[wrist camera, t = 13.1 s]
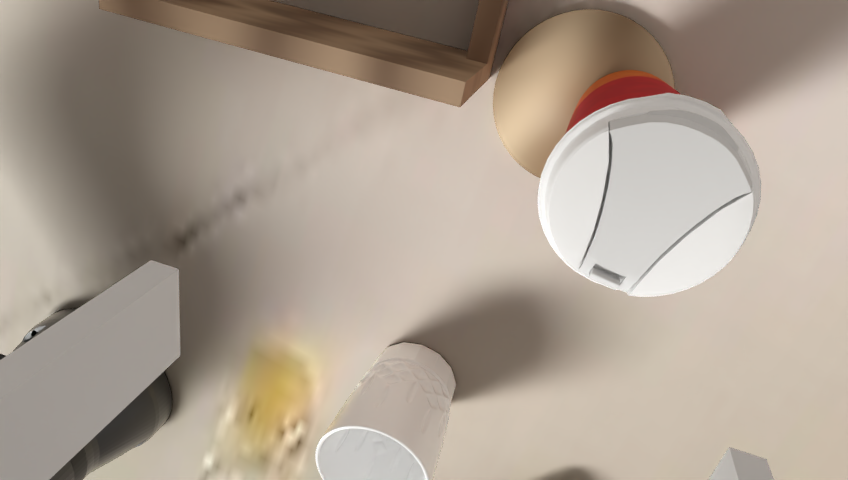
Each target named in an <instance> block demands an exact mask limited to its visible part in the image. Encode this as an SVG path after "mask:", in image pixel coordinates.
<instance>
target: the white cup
mask: <svg viewBox="0 0 848 480" xmlns="http://www.w3.org/2000/svg"><path fill="white" fill-rule="evenodd" d="M455 387H456V382H455V379H454V375H453V372H452V368H451V367H450V366H449V365H448V363H447V362H446V361H445V360H444V359H443V358H442V357H441V355H440V354H438V353H437V352H435V351H433V350H431V349H429V348H427V347H425V346H424V345H420V344H413V343H406V342H403V343H399V344H396V345H392V346H389V347H387V348H386V349H385V350H384V351H383V352H382V353H381V354H380V355H379V356H378V357H377V359H376V360H375V362H374V363H373V365H372V366H371V368H370V369H369V370H368V371H367V372H366V374H365V375H364V376H363V378H362V379H361V381H360V382H359V384H358V385H357V386H356V388H355V389H354V390H353V392H352V393H351V395H350V396H349V397H348V399H347V400H346V402H345V403H344V405H343V406H342V408H341V409H340V411H339V413H338V414H337V416H336V417H335V419H334V420H333V422H332V423H331V425H330V426H329V428H328V429H327V431H326V432H325V434H324V435H323V437H322V438H321V440H320V441H319V443H318V445H317V448H316V464H317V468H318V471H319V473H320V475H321V477H322V479H323V480H433V478H434V474H435V470H436V466H437V463H438V459H439V456H440V452H441V449H442V446H443V441H444V436H445V433H446V429H447V424H448V420H449V416H450V406H451V402H452V398H453V394H454V391H455Z"/></svg>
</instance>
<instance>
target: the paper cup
mask: <svg viewBox="0 0 848 480" xmlns="http://www.w3.org/2000/svg"><path fill="white" fill-rule="evenodd" d="M760 197H761V180H760V174H759V167H758V165H757V162H756V159H755V156H754V154H753V151H752V150H751V148H750V146H749V145H748V143H747V141H746V140H745V138H744V137H743V136H742V135H741V133H740V132H739V131H738V130H737V129H736V128H735V127H734V126H733V125H732V123H731V122H730V121H729V119H728V118H727V117H726V116H725V114H724V113H723V112H722V111H721V110H720V109H718V108H716V107H714V106H713V105H711V104H709V103H707V102H705V101H702V100H699V99H696V98H693V97H690V96H686V95H681V94H680V93H679V92H677V91H676V90H675V89H674V88H672V87H671V86H670V85H668V84H667V83H666V82H664V81H663V80H661V79H660V78H658V77H656V76H654V75H652V74H650V73H647V72H643V71H638V70H623V71H617V72H614V73H611V74H608V75H606V76H604V77H602V78H600V79H599V80H597V81H596V82H595V83H593V84H592V85H591V86H590V87H589V88H588V89H587V90H586V91H585V93H584V94H583V95H582V97H581V98H580V100H579V102H578V104H577V106H576V108H575V110H574V113H573V115H572V117H571V120H570V122H569V125H568V128H567V130H566V133H565V135H564V136H563V137H562V139H561V140H560V141H559V142H558V143H557V144H556V146H555V147H554V149H553V151H552V152H551V154H550V156H549V157H548V159H547V161H546V164H545V166H544V169H543V171H542V174H541V179H540V183H539V188H538V211H539V218H540V222H541V225H542V228H543V231H544V233H545V235H546V237H547V239H548V241H549V243H550V245H551V246H552V248H553V249H554V251H555V252H556V253H557V255H558V256H559V257H560V258H561V259H562V260H563V261H564V262H565V263H566V264H567V265H568V266H569V267H571V268H572V269H573V270H574V271H576V272H577V273H579V274H580V275H582V276H584V277H586V278H587V279H589V280H591V281H593V282H595V283H598V284H601V285H603V286H606V287H608V288H611V289H613V290H616V289H617V290H622V291H624V292H627V295H629V296H639V297H650V296H662V295H668V294H673V293H677V292H680V291H683V290H687V289H689V288H691V287H694V286H696V285H698V284H700V283H702V282H704V281H705V280H707V279H709V278H710V277H712V276H714V275H715V274H716V273H717V272H719V271H720V270H721V269H722V268H723V267H725V266H726V265H727V264H728V263H729V262H730V260H731V259H732V258H733V257H734V256H735V255H736V254H737V252H738V251H739V249H740V248H741V246H742V245H743V243H744V241H745V240H746V237H747V235H748V234H749V232H750V230H751V228H752V226H753V223H754V221H755V219H756V216H757V212H758V208H759V204H760Z"/></svg>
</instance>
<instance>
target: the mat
mask: <svg viewBox="0 0 848 480" xmlns="http://www.w3.org/2000/svg"><path fill="white" fill-rule="evenodd" d="M623 70H638V71H643V72H647V73H650V74H652V75H654V76H656V77H658V78H660V79H661V80H663V81H664V82H666V83H667V84H668V85H670V86H671V87H672V88H674V89H675V87H674V78H673V74H672V70H671V66H670V64H669V61H668V59H667V57H666V55H665V53H664V51H663V50H662V48H661V46H660V45H659V44H658V42H657V41H656V40H655V39H654V37H653V36H652V35H651V34H650V33H649V32H648V31H646V30H645V29H644V28H643V27H642V26H640V25H639V24H637V23H636V22H634V21H633V20H631V19H629V18H627V17H624V16H622V15H619V14H616V13H613V12H609V11H603V10H592V9H584V10H575V11H570V12H566V13H562V14H559V15H557V16H554V17H551V18H549V19H547V20H545V21H544V22H542V23H540V24H538V25H537V26H535V27H534V28H533V29H531V30H530V31H529V32H527V33H526V34H525V35H524V36H523V37H522V38H521V39H520V40H519V41H518V42H517V43H516V45H515V46H514V47H513V48H512V49H511V51H510V52H509V54H508V55H507V57H506V58H505V60H504V62H503V64H502V66H501V68H500V71H499V73H498V76H497V80H496V83H495V88H494V95H493V112H494V119H495V124H496V128H497V130H498V133H499V136H500V138H501V140H502V142H503V144H504V146H505V147H506V149H507V150H508V152H509V153H510V155H511V156H512V157H513V158H514V159H515V160H516V161H517V163H519V164H520V165H521V166H522V167H523V168H524V169H526V170H527V171H529V172H530V173H532V174H533V175H535V176H537V177H539V178H541V174H542V171H543V169H544V166H545V164H546V161H547V159H548V157H549V156H550V154H551V152H552V151H553V149H554V147H555V146H556V144H557V143H558V142H559V141H560V140H561V139H562V137H563V136H564V135H565V133H566V130H567V128H568V125H569V122H570V120H571V117H572V115H573V113H574V110H575V108H576V106H577V104H578V102H579V100H580V98H581V97H582V95H583V94H584V93H585V91H586V90H587V89H588V88H589V87H590V86H591V85H592V84H593V83H595V82H596V81H597V80H599V79H600V78H602V77H604V76H606V75H608V74H611V73H614V72H617V71H623Z"/></svg>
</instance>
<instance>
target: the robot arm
mask: <svg viewBox="0 0 848 480" xmlns="http://www.w3.org/2000/svg"><path fill="white" fill-rule="evenodd" d="M178 357H180V308H179V269H177V268H174V267H171V266H168V265H165V264H162V263H159V262H156V261H153V260H150V261H149V262H147V263H146V264H144V265H143V266H141V267H140V268H138V269H137V270H135V271H134V272H132V273H131V274H129V275H128V276H126V277H125V278H123V279H122V280H120V281H119V282H117V283H116V284H114V285H113V286H111V287H110V288H108V289H107V290H105V291H104V292H102V293H101V294H99V295H98V296H96V297H95V298H93V299H92V300H90V301H88V302H87V303H85V304H84V305H82V306H81V307H79V308H78V309H65V310H61V311H59V312H56V313H54V314H53V315H51V316H50V317H48V318H47V319H45V320H43V321H42V322H40V323H39V324H37V325H36V326H35V327H33V328H32V329H31V330H30V331H29V332H28V333H27V335H26V336H25V337H24V339H23V341H22V342H21V343H20V344H19V345H18V346H17V347H16V348H15V350H14V351H13V352H12V353H10V354H9V355H7V356H5V355H2V354H0V480H83V479H84V478H85V477H86V476H87V475H88V474H89V473H91V472H93V471H94V470H96V469H98V468H100V467H101V466H103V465H105V464H107V463H109V462H110V461H112V460H114V459H116V458H117V457H119V456H121V455H123V454H124V453H126V452H127V451H129V450H131V449H132V448H135V447H137V446H140V445H142V444H143V443H145V442H146V441H147V440H149V439H150V438H151V437H152V436H153V435H154V434H155V433H156V432H157V431H158V430H159V429H160V428H161V427H162V426H163V424H164V423H165V422H166V421H167V419H168V417H169V415H170V412H171V407H172V396H171V390H170V386H169V383H168V380H167V378H166V375H165V373H164V371H165V370H166V369H167V368H168V367H169V366H170V365H171V364H172V363H173V362H174V361H175V360H176V359H177V358H178ZM708 480H774V478H773V476H772V473H771V470H770V467H769V465H768V462H767V459H764V458H761V457H758V456H755V455H752V454H749V453H746V452H743V451H740V450H737V449H734V448H730V447H729V448H728V449H727V451H726V453H725V454H724V456H723V457H722V459H721V460H720V462H719V464H718V465H717V467H716V468H715V470H714V472H713V473H712V475H711V476H710V478H709V479H708Z"/></svg>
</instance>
